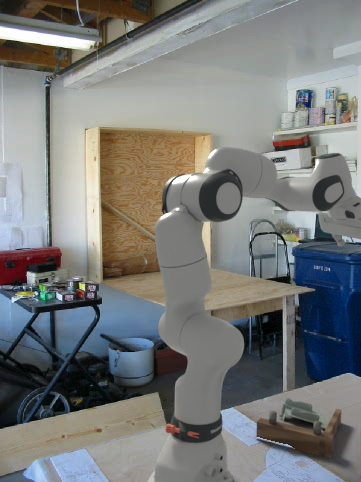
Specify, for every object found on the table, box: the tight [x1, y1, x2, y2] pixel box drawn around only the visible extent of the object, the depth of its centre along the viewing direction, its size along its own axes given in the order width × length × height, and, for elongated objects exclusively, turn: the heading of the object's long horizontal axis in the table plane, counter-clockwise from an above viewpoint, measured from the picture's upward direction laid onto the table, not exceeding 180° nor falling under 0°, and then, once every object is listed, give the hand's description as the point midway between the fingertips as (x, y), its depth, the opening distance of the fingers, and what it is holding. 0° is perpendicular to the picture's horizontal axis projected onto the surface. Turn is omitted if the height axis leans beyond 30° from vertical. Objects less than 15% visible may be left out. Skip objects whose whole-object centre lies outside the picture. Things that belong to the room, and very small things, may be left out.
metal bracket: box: [278, 397, 329, 430], centre depth 151 cm, size 14×6×15 cm
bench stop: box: [255, 408, 342, 459], centre depth 142 cm, size 22×20×8 cm
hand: (353, 248), depth 149 cm, fingers open, 8 cm apart
